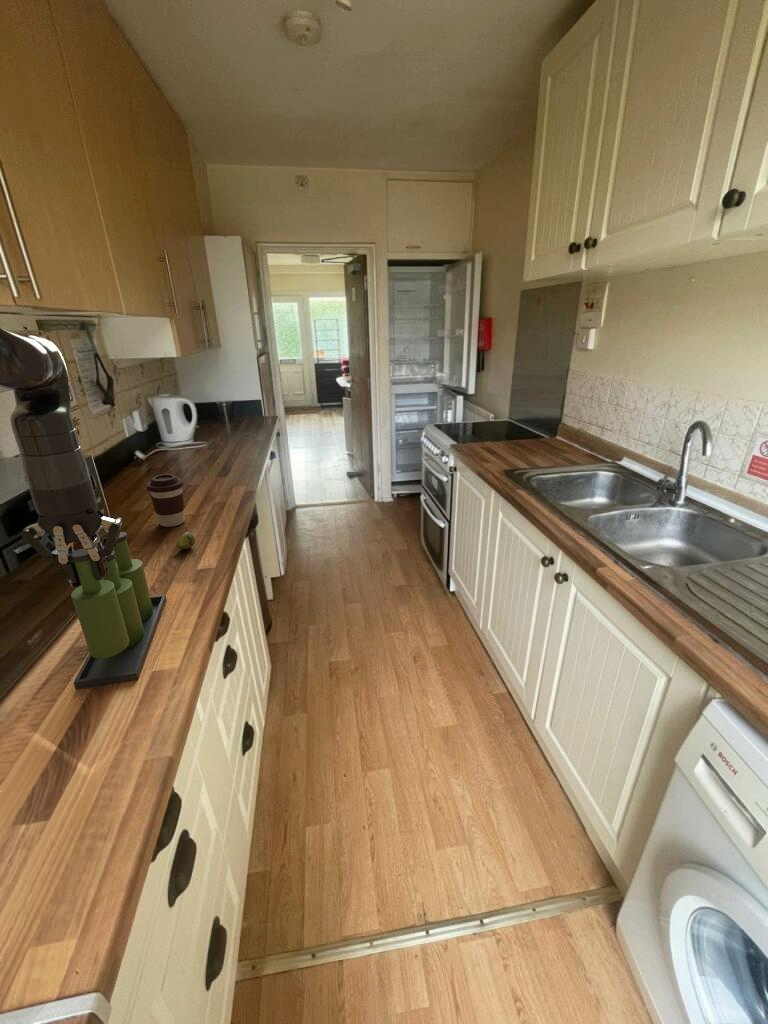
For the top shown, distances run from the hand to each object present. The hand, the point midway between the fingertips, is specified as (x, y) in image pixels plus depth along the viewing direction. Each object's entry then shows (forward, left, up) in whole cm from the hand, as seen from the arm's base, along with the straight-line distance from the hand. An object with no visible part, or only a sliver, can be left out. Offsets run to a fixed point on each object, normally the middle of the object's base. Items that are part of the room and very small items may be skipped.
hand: (89, 578), depth 70 cm
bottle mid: (-5, +6, -19) cm, 20 cm away
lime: (-25, +38, -19) cm, 50 cm away
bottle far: (-10, +12, -19) cm, 24 cm away
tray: (-5, +6, -19) cm, 21 cm away
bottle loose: (0, 0, -14) cm, 14 cm away
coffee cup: (-43, +48, -19) cm, 68 cm away
